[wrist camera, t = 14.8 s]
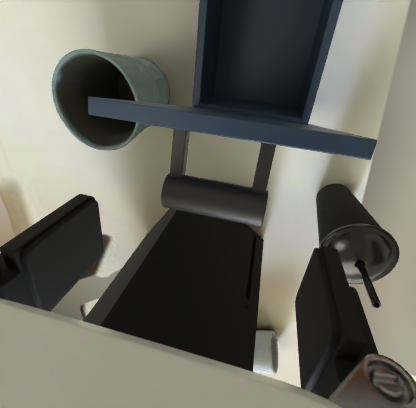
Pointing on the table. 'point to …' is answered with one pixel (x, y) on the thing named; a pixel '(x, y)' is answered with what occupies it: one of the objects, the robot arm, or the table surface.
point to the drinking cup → (355, 238)
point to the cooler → (262, 56)
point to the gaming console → (190, 289)
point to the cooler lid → (235, 128)
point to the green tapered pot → (104, 94)
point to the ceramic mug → (265, 352)
